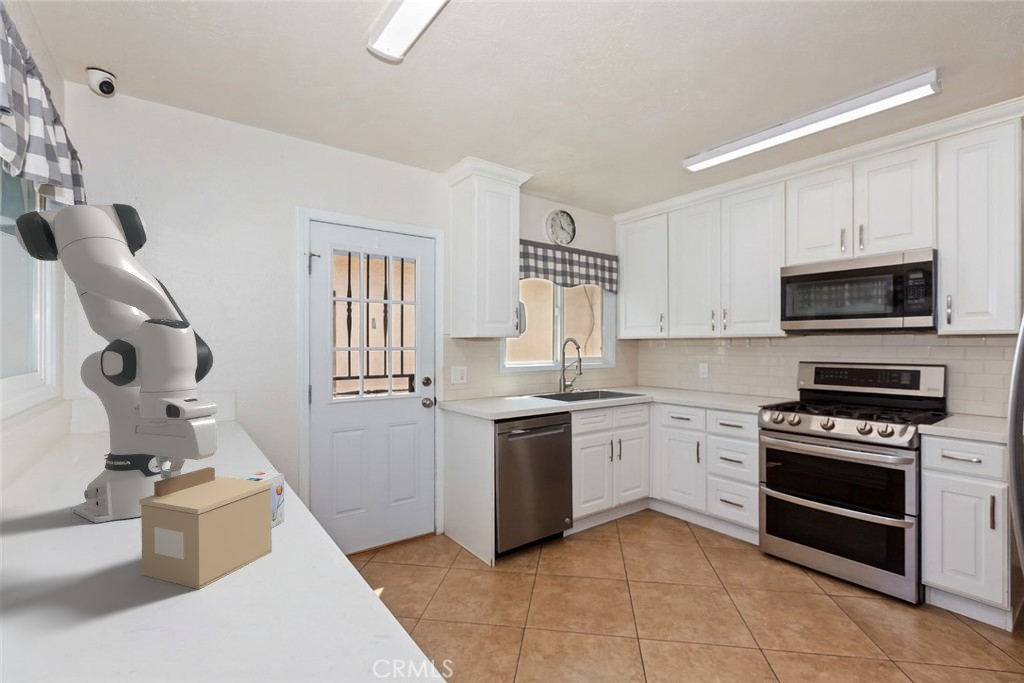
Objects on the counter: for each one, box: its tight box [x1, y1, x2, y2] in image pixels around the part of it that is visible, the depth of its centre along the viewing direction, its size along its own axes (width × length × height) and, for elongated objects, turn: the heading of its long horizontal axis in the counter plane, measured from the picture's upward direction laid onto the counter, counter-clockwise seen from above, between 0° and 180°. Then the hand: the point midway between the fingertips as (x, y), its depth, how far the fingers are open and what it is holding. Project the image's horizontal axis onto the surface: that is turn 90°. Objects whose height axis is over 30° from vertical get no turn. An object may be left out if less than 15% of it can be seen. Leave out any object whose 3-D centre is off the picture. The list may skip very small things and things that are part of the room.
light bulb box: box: [241, 471, 285, 529], centre depth 99 cm, size 11×7×11 cm, turn 168°
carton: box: [140, 488, 273, 590], centre depth 84 cm, size 14×14×12 cm
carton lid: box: [139, 466, 273, 514], centre depth 84 cm, size 14×14×3 cm
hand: (170, 479), depth 87 cm, fingers closed
